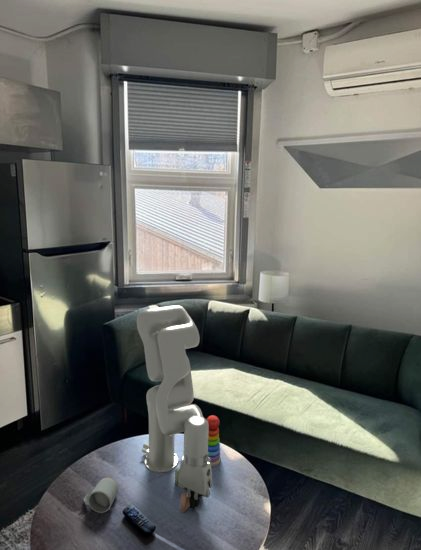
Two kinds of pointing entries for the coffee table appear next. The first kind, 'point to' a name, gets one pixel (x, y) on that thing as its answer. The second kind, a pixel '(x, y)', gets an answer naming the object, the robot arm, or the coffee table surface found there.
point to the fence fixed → (177, 477)
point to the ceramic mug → (102, 495)
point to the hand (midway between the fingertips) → (194, 506)
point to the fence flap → (184, 502)
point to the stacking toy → (213, 440)
